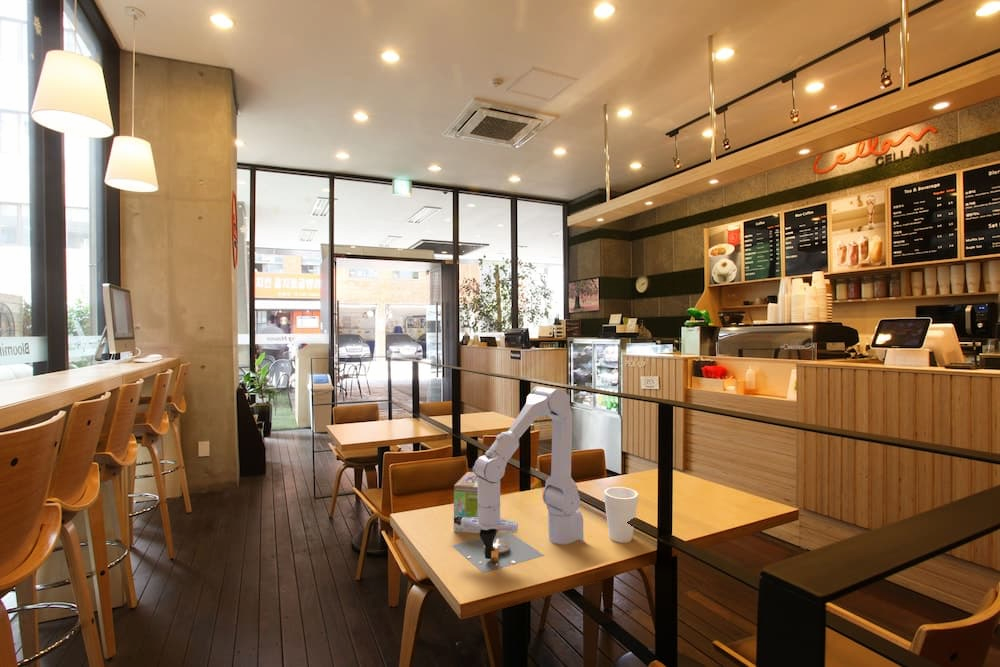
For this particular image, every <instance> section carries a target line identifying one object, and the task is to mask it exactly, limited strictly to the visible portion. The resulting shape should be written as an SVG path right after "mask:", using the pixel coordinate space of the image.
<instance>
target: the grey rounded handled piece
mask: <svg viewBox="0 0 1000 667" xmlns="http://www.w3.org/2000/svg"><path fill="white" fill-rule="evenodd" d="M484 551H485V545H484ZM490 551H491V563H498V562H499V557H498V555H503V554H506V553H508V552H509V551H510V542H509V541H508V540H506V539H502V538H494V541H493V548H491V550H490Z"/></svg>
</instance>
